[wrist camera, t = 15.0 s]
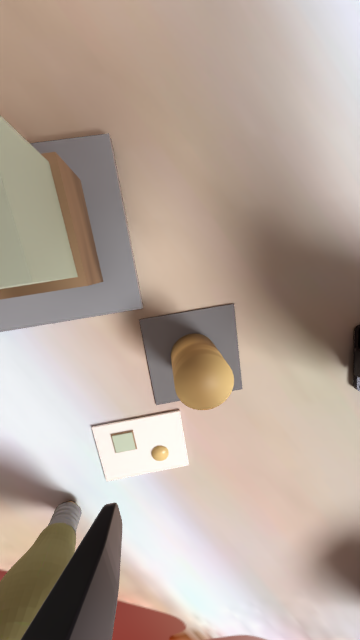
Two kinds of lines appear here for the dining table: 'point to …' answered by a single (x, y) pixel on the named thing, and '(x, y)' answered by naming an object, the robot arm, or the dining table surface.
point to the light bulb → (37, 572)
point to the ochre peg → (200, 372)
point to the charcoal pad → (174, 326)
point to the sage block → (29, 216)
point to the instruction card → (141, 445)
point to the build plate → (109, 236)
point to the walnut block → (68, 234)
